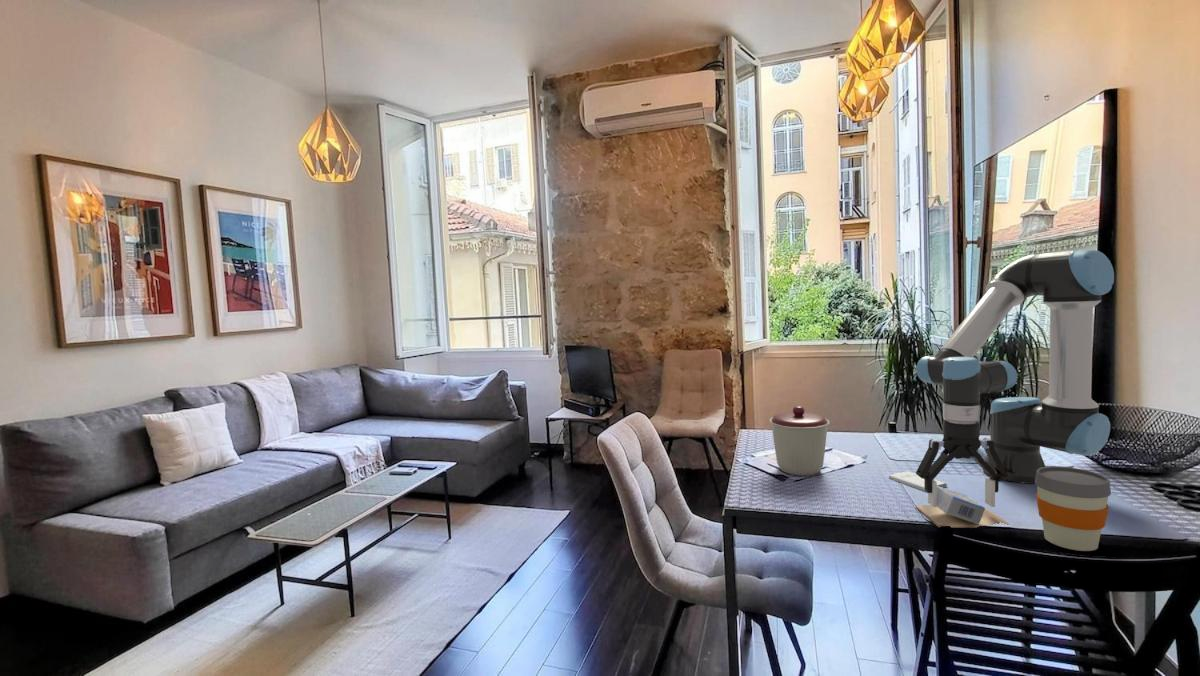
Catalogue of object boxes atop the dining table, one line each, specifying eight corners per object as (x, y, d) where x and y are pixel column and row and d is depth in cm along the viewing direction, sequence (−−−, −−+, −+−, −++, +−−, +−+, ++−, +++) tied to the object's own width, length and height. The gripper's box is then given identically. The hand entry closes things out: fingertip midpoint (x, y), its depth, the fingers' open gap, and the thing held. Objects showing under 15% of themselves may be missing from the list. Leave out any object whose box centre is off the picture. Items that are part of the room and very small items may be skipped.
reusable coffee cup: (1126, 552, 114) (1128, 482, 112) (1071, 557, 113) (1072, 487, 111) (1070, 526, 126) (1071, 464, 125) (1019, 531, 125) (1020, 468, 124)
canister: (794, 458, 186) (792, 398, 184) (842, 471, 171) (841, 405, 169) (758, 470, 176) (756, 406, 174) (806, 485, 161) (805, 415, 159)
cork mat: (981, 507, 139) (981, 505, 139) (1011, 527, 127) (1011, 525, 127) (915, 507, 141) (915, 505, 141) (938, 527, 129) (938, 525, 129)
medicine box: (952, 497, 128) (935, 484, 137) (945, 514, 129) (928, 500, 137) (986, 508, 127) (966, 494, 136) (979, 525, 128) (959, 510, 137)
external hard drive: (925, 493, 151) (888, 479, 163) (947, 488, 154) (909, 475, 166) (925, 487, 151) (888, 474, 163) (947, 482, 154) (908, 470, 166)
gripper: (914, 425, 130) (915, 511, 132) (1026, 422, 127) (1025, 510, 129) (901, 418, 137) (901, 499, 139) (1006, 415, 134) (1005, 498, 136)
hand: (961, 505), depth 134 cm, fingers open, 13 cm apart
